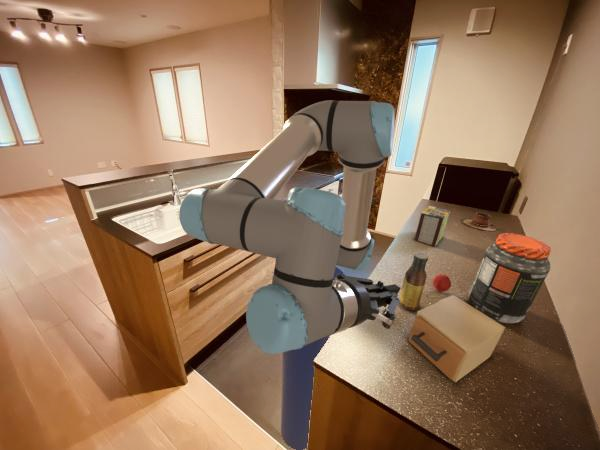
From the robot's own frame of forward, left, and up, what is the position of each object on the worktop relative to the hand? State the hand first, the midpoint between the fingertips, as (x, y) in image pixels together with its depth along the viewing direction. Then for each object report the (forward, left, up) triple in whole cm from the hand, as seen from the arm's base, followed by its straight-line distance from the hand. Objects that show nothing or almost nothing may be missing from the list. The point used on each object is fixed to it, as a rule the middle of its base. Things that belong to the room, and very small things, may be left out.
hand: (395, 291), depth 56 cm
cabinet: (+6, +20, -22) cm, 31 cm away
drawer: (+6, +16, -21) cm, 27 cm away
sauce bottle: (-11, +24, -22) cm, 34 cm away
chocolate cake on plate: (-41, +126, -22) cm, 134 cm away
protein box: (-41, +77, -22) cm, 90 cm away
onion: (-11, +41, -22) cm, 48 cm away
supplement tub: (+3, +50, -22) cm, 55 cm away
